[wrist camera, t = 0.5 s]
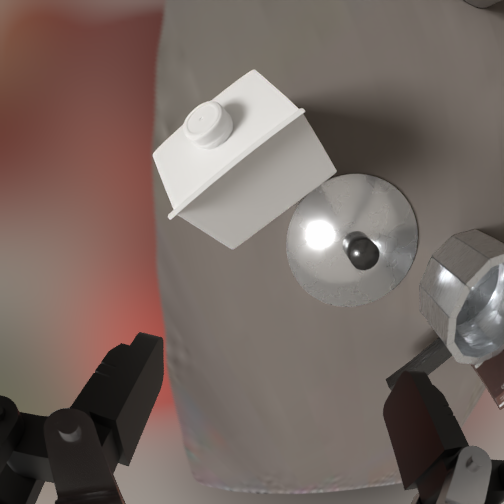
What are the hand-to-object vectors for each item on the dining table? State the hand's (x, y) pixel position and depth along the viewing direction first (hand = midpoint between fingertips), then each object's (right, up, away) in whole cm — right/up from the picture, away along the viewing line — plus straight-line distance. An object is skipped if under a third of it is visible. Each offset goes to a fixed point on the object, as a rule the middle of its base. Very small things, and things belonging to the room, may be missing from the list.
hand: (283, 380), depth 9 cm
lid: (+10, +5, +23) cm, 26 cm away
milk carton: (-1, +14, +21) cm, 25 cm away
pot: (+24, -2, +24) cm, 34 cm away
